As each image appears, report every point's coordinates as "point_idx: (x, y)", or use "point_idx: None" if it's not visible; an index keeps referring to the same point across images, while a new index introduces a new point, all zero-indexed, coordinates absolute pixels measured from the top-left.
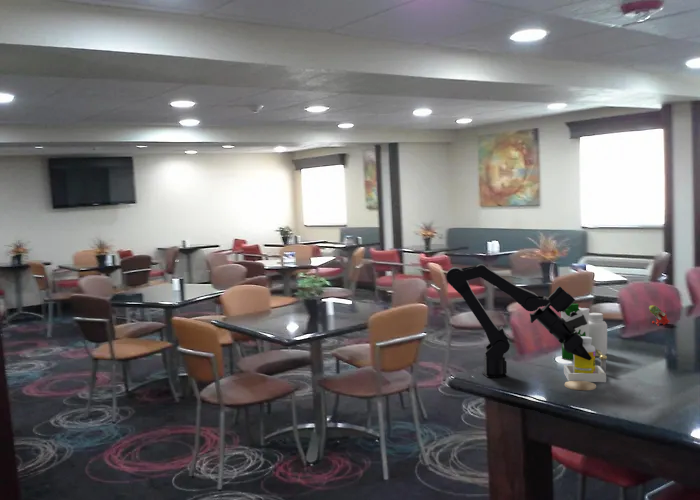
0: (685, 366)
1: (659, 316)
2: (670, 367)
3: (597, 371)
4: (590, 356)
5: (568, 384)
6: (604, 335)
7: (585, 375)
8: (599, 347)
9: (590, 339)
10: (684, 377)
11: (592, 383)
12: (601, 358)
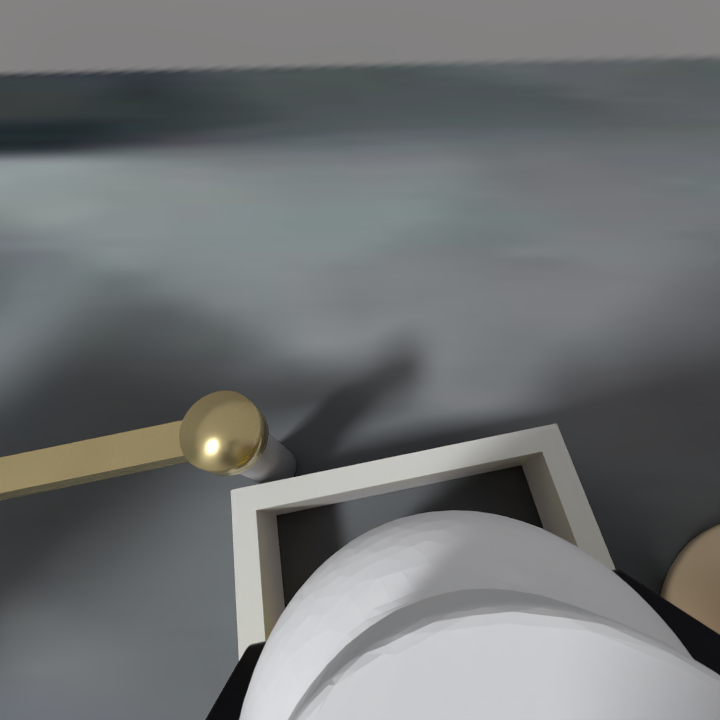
0: (54, 96)
1: None
2: (72, 140)
3: (275, 512)
4: (653, 593)
5: None
6: None
7: None
8: None
9: (697, 663)
10: (270, 93)
11: (715, 549)
12: (261, 452)
